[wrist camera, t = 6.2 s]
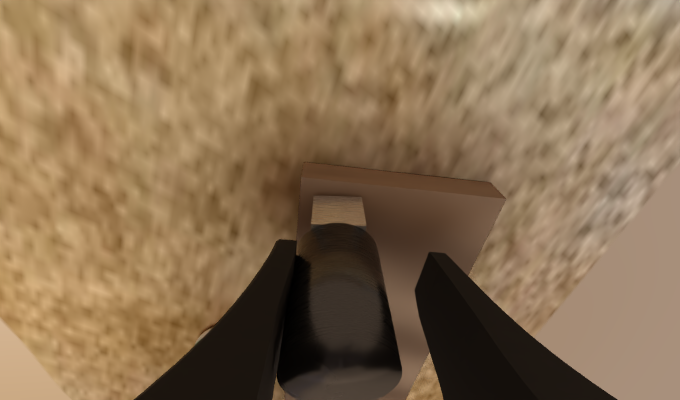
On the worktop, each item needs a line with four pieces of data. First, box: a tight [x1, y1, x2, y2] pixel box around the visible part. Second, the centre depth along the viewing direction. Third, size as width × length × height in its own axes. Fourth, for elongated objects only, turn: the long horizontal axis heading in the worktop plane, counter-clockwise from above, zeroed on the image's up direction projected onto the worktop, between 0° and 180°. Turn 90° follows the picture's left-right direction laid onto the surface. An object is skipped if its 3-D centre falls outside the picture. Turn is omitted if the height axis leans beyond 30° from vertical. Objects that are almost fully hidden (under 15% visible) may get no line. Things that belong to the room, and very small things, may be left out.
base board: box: [285, 162, 506, 400], centre depth 19 cm, size 22×9×2 cm, turn 172°
